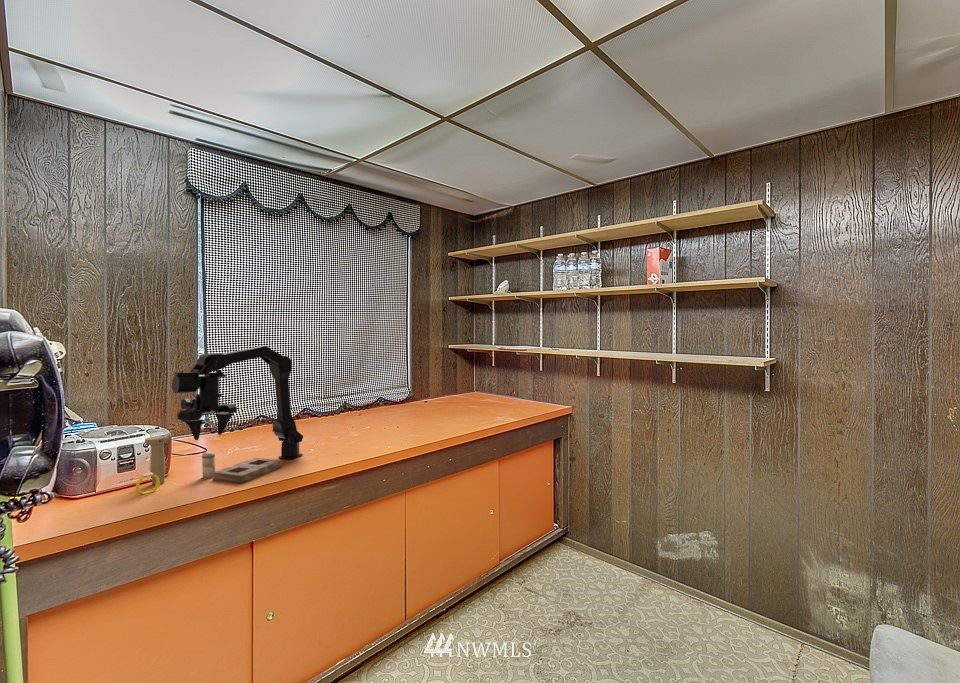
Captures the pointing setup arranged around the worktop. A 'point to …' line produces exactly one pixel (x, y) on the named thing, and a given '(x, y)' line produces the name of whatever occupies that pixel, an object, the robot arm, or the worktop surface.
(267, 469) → the bore block
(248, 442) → the worktop surface
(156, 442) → the handle
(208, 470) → the pin
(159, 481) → the yellow round part
